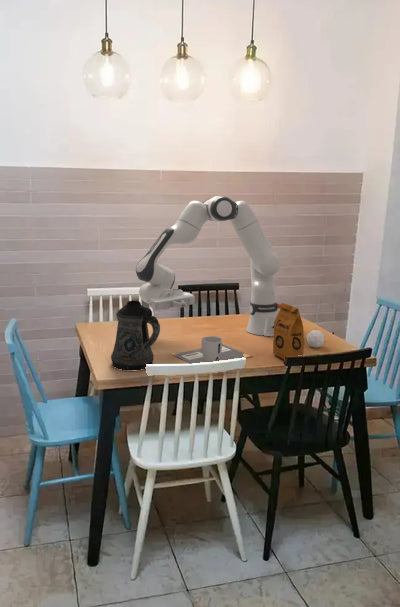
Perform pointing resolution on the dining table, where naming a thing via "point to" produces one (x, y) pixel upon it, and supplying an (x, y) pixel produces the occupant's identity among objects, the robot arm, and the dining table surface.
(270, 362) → the dining table surface
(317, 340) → the geometric ball
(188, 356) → the label sheet
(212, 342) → the cup
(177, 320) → the dining table surface
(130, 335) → the beer stein
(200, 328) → the dining table surface
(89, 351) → the dining table surface
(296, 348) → the coffee package
